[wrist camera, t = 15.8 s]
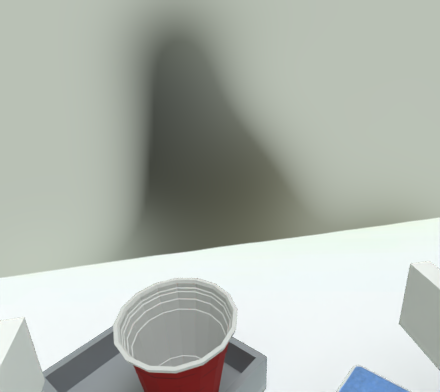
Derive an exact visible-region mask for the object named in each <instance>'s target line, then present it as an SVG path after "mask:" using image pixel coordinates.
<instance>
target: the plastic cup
mask: <svg viewBox="0 0 440 392" xmlns="http://www.w3.org/2000/svg"><path fill="white" fill-rule="evenodd" d="M236 323H237V308H236V306H235V304H234V302H233V300H232V297H231V295H230V294H229V293H228V292H226V291H225V290H224V289H222V288H221V287H220V286H218V285H217V284H215V283H212V282H209V281H205V280H202V279H198V278H174V279H170V280H166V281H162V282H158V283H155V284H153V285H151V286H149V287H147V288H145V289H143V290H141V291H140V292H138V293H136V294H135V295H134V296H133V297H132V298H131V299H130V300H129V301H128V302H127V303H126V304H125V305H124V306H123V307H122V308H121V309H120V312H119V314H118V316H117V318H116V320H115V322H114V324H113V333H114V344H115V346H116V347H117V349H118V350H119V351H120V353H121V354H122V355H123V357H124V358H125V360H126V361H127V362H128V363H130V364H132V365H133V366H134V368H135V371H136V373H137V375H138V378H139V380H140V383H141V385H142V387H143V390H144V392H219V386H220V381H221V375H222V370H223V365H224V359H225V354H226V352H227V347H228V344H229V341H230V339H231V337H232V336H233V334H234V332H235V330H236Z"/></svg>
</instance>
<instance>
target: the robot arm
mask: <svg viewBox="0 0 440 392" xmlns="http://www.w3.org/2000/svg"><path fill="white" fill-rule="evenodd" d="M399 324H400V325H401V327H402V328H403V329H404V330H405V331H406V332H407V333H408V335H409V336H410V337H411V338H412V339H413V340H414V342H415V343H416V344H417V345H418V346H419V347H420V348H421V350H422V351H423V352H424V353H425V354H426V355H427V357H428V358H429V359H430V360H431V361H432V362H433V363H434V365H435V366H436V367H437V368H438V369H439V370H440V269H439V268H438V267H437V266H436V265H434V264H433V263H432V262H431V261H425V262H418V263H411V264H410V268H409V273H408V278H407V284H406V289H405V294H404V299H403V305H402V310H401V315H400V321H399ZM44 382H45V379H44V376H43V373H42V370H41V366H40V363H39V360H38V357H37V354H36V351H35V348H34V345H33V342H32V339H31V336H30V333H29V330H28V327H27V323H26V320H25V317H21V318H14V319H6V320H0V392H41V391H42V388H43V385H44Z"/></svg>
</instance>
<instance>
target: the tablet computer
mask: <svg viewBox="0 0 440 392" xmlns="http://www.w3.org/2000/svg"><path fill="white" fill-rule="evenodd" d="M336 392H411V391H409V390H408V389H406V388H404V387H402V386H400V385H398V384H396V383H394V382H392V381H390V380H388V379H386V378H384V377H382V376H380V375H378V374H376V373H375V372H373V371H371V370H369V369H367V368H365V367H363V366H359V365H355V366H353V367H352V368H351V370H350V371H349V373H348V374H347V376H346V377H345V379H344V381H343V382H342V384H341V385H340V387H339V388H338V390H337V391H336Z"/></svg>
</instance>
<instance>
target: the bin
mask: <svg viewBox="0 0 440 392" xmlns="http://www.w3.org/2000/svg"><path fill="white" fill-rule="evenodd" d="M266 371H267V357H266V356H265V355H263V354H261V353H260V352H258V351H256V350H254V349H253V348H251V347H249V346H248V345H246V344H244V343H242V342H241V341H239V340H237V339H235V338H234V337H231V339H230V341H229V344H228V347H227V352H226V354H225V359H224V365H223V370H222V375H221V381H220V386H219V392H263V391H264V390H265V389H266ZM42 373H43V376H44V379H45V382H44V385H43V388H42V391H41V392H144V390H143V387H142V385H141V383H140V380H139V378H138V375H137V373H136V371H135V368H134V366H133V365H132V364H130V363H128V362H127V361H126V360H125V358H124V357H123V355H122V354H121V353H120V351H119V350H118V349H117V347H116V346H115V344H114V333H113V326H112V327H110V328H109V329H107V330H106V331H104V332H103V333H101V334H100V335H98V336H97V337H95V338H94V339H92V340H91V341H89V342H88V343H86V344H85V345H83V346H81V347H80V348H78V349H77V350H75V351H74V352H72V353H71V354H69V355H68V356H66V357H65V358H63V359H62V360H60V361H59V362H57V363H56V364H54V365H53V366H51V367H50V368H48V369H47V370H45V371H43V372H42Z"/></svg>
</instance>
